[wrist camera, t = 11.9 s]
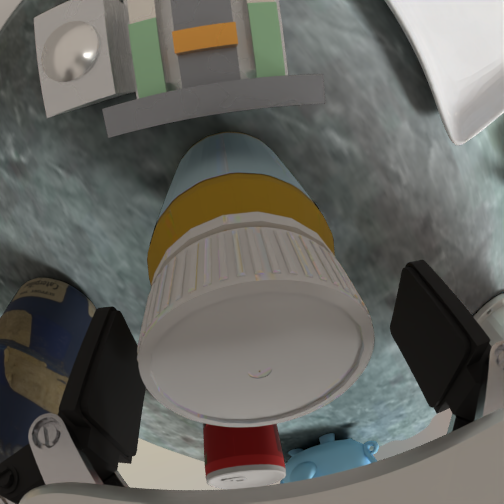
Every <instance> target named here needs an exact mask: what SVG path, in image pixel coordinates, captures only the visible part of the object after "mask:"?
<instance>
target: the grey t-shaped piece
mask: <svg viewBox="0 0 504 504" xmlns="http://www.w3.org/2000/svg"><path fill="white" fill-rule="evenodd" d="M170 2H171V10H172V18H173V26H174V31H172V37H173V44H174V52H175V54H176V55H177V56H178V62H179V69H180V75H181V82H182V88H183V89H178V90H173V91H169V92H164V93H160V94H155V95H151V96H147V97H143V98H139V99H135V100H131V101H128V102H124V103H121V104H117V105H114V106H110V107H107V108H104V109H102V111H103V116H104V121H105V126H106V130H107V135H108V138H110V137H114V136H117V135H121V134H125V133H128V132H132V131H136V130H140V129H144V128H149V127H153V126H157V125H162V124H166V123H171V122H176V121H181V120H186V119H191V118H197V117H203V116H208V115H215V114H221V113H228V112H235V111H242V110H250V109H259V108H269V107H279V106H292V105H307V104H325V92H324V80H323V74H308V75H286V76H271V77H260V78H250V79H241V77H240V69H239V62H238V54H237V45H238V37H237V30H236V22H233V16H232V9H231V2H230V0H170Z"/></svg>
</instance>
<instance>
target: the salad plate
mask: <svg viewBox="0 0 504 504" xmlns="http://www.w3.org/2000/svg"><path fill="white" fill-rule="evenodd" d="M385 2H386V3H387V5H388V6H389V8H390V10H391V11H392V13H393V14H394V16H395V18H396V19H397V21H398V23H399V24H400V26H401V28H402V29H403V31H404V33H405V35H406V37H407V39H408V40H409V42H410V44H411V46H412V48H413V50H414V52H415V54H416V56H417V58H418V60H419V63H420V65H421V67H422V69H423V72H424V74H425V76H426V79H427V81H428V84H429V86H430V89H431V92H432V94H433V97H434V100H435V103H436V106H437V109H438V112H439V114H440V117H441V120H442V122H443V125H444V127H445V130H446V132H447V134H448V136H449V138H450V139H451V141H452V142H453V143H454V144H455V145H462V144H464V143H465V142H467V141H468V140H470V139H471V138H473V137H474V136H476V135H477V134H478V133H479V132H481V131H482V130H483V129H484V128H486V127H487V126H488V125H489V124H491V123H492V122H493V121H494V120H495V119H497V118H498V117H499V116H500V115H501V114H503V113H504V0H385Z"/></svg>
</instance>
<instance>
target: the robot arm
mask: <svg viewBox="0 0 504 504" xmlns="http://www.w3.org/2000/svg"><path fill="white" fill-rule="evenodd" d="M390 330H391V334H392V336H393V338H394V340H395V342H396V343H397V345H398V347H399V349H400V351H401V352H402V354H403V356H404V358H405V360H406V362H407V364H408V365H409V367H410V369H411V371H412V373H413V375H414V377H415V379H416V381H417V383H418V385H419V387H420V389H421V391H422V392H423V394H424V396H425V398H426V400H427V403H428V404H429V406H430V407H434V409H435V411H436V413H439V412H442V411H444V410H446V409H448V408H450V409H451V411H452V417H451V421H450V425H449V428H448V432H447V434H446V435H444V436H442V437H440V438H437V439H435V440H433V441H430V442H428V443H426V444H424V445H421V446H419V447H416V448H413V449H411V450H408V451H406V452H403V453H401V454H397V455H395V456H392V457H389V458H386V459H383V460H380V461H377V462H374V463H370V464H367V465H364V466H360V467H357V468H353V469H349V470H346V471H342V472H338V473H334V474H330V475H325V476H321V477H316V478H311V479H306V480H301V481H295V482H289V483H283V484H276V485H268V486H260V487H250V488H239V489H224V490H159V489H142V488H130V487H129V486H128V485H127V483H126V482H125V481H124V479H123V478H122V476H121V475H120V474H119V472H118V471H117V467H118V462H120V463H130V464H131V461H132V456H135V455H136V451H137V444H138V436H139V429H140V421H141V414H142V407H143V401H144V395H145V388H146V386H145V385H144V383H143V381H142V378H141V375H140V371H139V367H138V366H139V362H138V361H137V355H138V353H137V348H138V345H137V344H136V342H135V340H134V338H133V336H132V334H131V332H130V330H129V328H128V326H127V324H126V321H125V319H124V317H123V315H122V313H121V312H120V311H117V310H116V309H115V308H114V307H103V308H98V309H96V311H95V313H94V315H93V318H92V320H91V322H90V325H89V327H88V329H87V332H86V334H85V337H84V339H83V342H82V344H81V347H80V349H79V352H78V354H77V357H76V360H75V362H74V365H73V368H72V370H71V373H70V376H69V379H68V382H67V384H66V387H65V390H64V393H63V396H62V399H61V402H60V405H59V412H58V415H56V414H52V413H47V414H43V415H41V416H39V417H38V418H37V419H35V420H34V422H33V423H32V425H31V427H30V429H29V434H28V439H29V444H27V445H26V446H24V447H23V448H21V449H20V450H19V451H17V452H16V453H14V454H13V455H11V456H10V457H9V458H7V459H6V460H4V461H3V462H1V463H0V504H504V293H503V294H500V295H498V296H496V297H495V298H493V299H492V300H490V301H489V302H488V303H486V304H485V305H484V306H483V307H482V308H481V309H480V310H479V311H478V312H477V313H476V314H475V315H474V316H472V315H471V314H470V312H469V311H468V310H467V309H466V307H465V306H464V305H463V304H462V303H461V301H460V300H459V299H458V298H457V297H456V296H455V294H454V293H453V292H452V291H451V290H450V289H449V287H448V286H447V285H446V284H445V283H444V282H443V281H442V279H441V278H440V277H439V276H438V275H437V274H436V273H435V272H434V271H433V269H432V268H431V267H430V266H429V265H428V264H427V263H426V262H425V261H424V260H419V261H414V262H409V263H407V265H406V267H405V268H403V270H402V273H401V278H400V284H399V289H398V294H397V298H396V303H395V308H394V312H393V316H392V321H391V325H390Z"/></svg>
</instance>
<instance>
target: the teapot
mask: <svg viewBox="0 0 504 504" xmlns="http://www.w3.org/2000/svg"><path fill="white" fill-rule="evenodd" d="M319 441H320V445H317V446H314V447H311V448H308V449H306V450H303V449H293V450H290V451H289V452H288V454H289V455H290V456H292V457H291V458H290V459H289V460H288V462H287V463H286V465H285V468H286V476H285V478H283V479H282V480H281V482H280V484H283V483H289V482H295V481H301V480H306V479H311V478H316V477H321V476H325V475H330V474H334V473H338V472H342V471H346V470H349V469H353V468H357V467H360V466H364V465H367V464H370V463H374V462H377V460H376V459H375V457H374V456H373V455H372V454H375V453H376V452H377V451H378V448H379V446H378V443H377V442H376V441H368V442H366V443H364V445H363V444H361V443H359V442H357V441H355V440H353V439H352V438H349V439H345V440H337V441H335V434H334V433H329V434H325V435H323V436H321V437H320V438H319ZM370 446H374V449H373V451H370V450H369V447H370Z"/></svg>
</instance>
